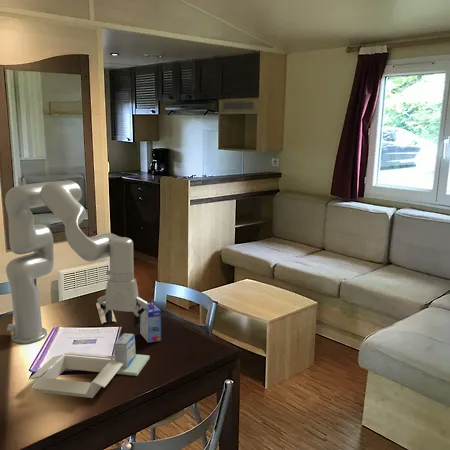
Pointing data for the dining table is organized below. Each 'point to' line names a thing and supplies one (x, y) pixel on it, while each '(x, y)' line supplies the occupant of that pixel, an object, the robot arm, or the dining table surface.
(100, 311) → the newspaper
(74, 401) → the dining table surface
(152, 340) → the ink cartridge box
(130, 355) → the medicine box
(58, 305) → the dining table surface
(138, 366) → the plate
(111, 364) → the carton
